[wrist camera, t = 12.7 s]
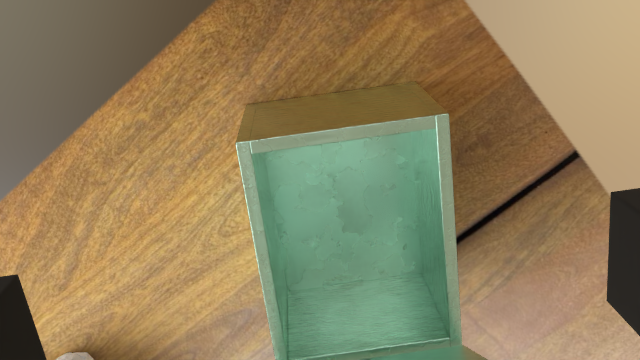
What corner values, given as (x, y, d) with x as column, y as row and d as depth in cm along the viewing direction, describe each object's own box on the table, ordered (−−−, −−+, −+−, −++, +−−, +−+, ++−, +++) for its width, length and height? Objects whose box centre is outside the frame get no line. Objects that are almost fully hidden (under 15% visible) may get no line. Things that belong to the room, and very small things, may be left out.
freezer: (246, 104, 49) (235, 142, 39) (415, 81, 49) (449, 113, 39) (279, 295, 55) (277, 372, 45) (430, 274, 56) (462, 346, 45)
